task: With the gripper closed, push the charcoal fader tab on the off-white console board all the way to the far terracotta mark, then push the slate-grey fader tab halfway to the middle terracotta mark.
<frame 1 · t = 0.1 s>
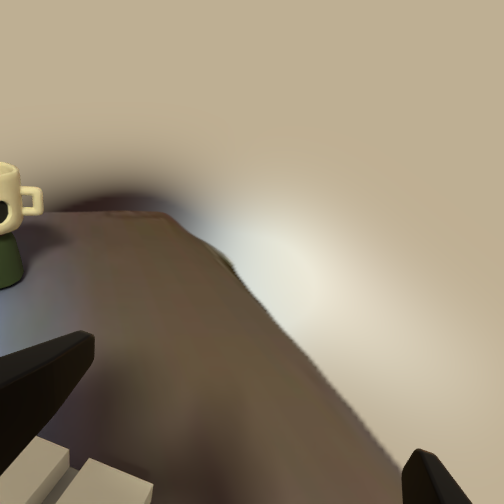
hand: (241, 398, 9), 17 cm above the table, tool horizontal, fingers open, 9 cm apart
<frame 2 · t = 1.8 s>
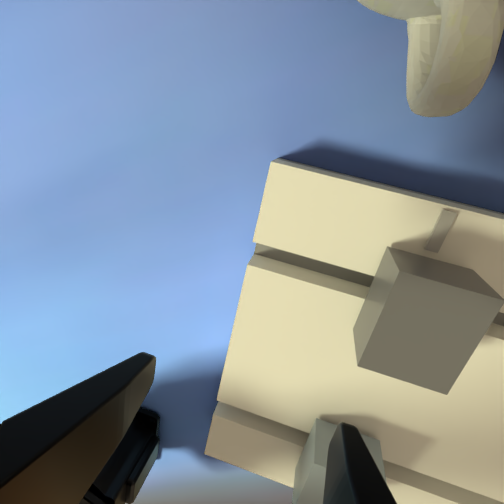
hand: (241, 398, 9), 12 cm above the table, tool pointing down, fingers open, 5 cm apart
console: (400, 368, 21), on the table
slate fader: (335, 464, 20), point 3 cm above the table, slide at 0.0 cm
charcoal fader: (411, 308, 16), point 3 cm above the table, slide at 0.0 cm
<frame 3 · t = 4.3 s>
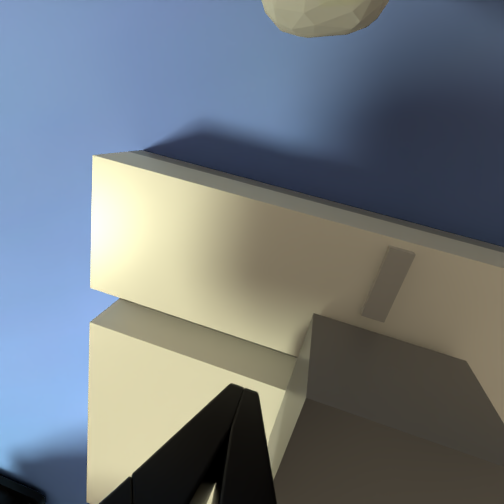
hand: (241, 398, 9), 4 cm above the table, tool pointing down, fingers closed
console: (348, 465, 14), on the table
charcoal fader: (356, 422, 9), point 3 cm above the table, slide at 0.5 cm, touching gripper
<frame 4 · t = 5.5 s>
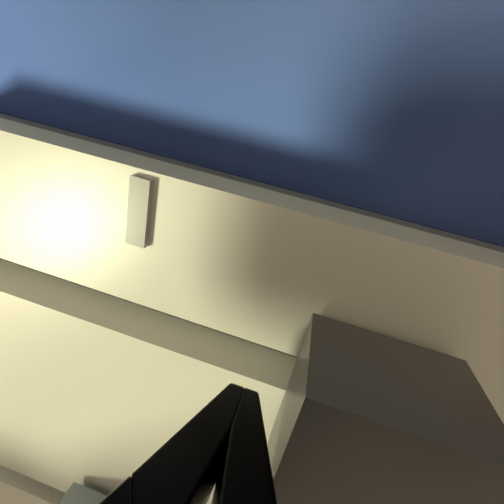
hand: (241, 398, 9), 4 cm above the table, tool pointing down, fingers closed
console: (202, 411, 15), on the table
charcoal fader: (356, 421, 9), point 3 cm above the table, slide at 7.4 cm, touching gripper
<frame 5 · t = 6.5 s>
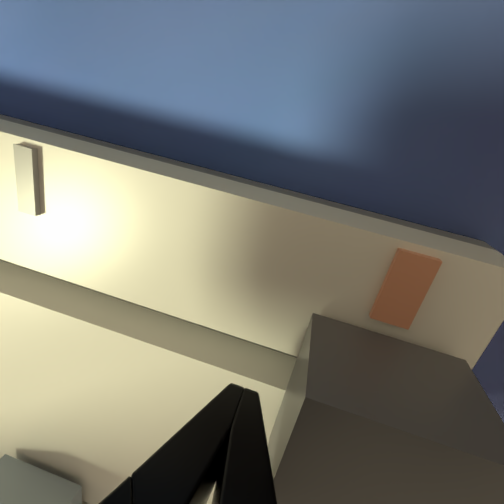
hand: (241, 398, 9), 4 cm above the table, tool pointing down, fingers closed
console: (132, 386, 15), on the table
charcoal fader: (356, 421, 9), point 3 cm above the table, slide at 11.0 cm, touching gripper
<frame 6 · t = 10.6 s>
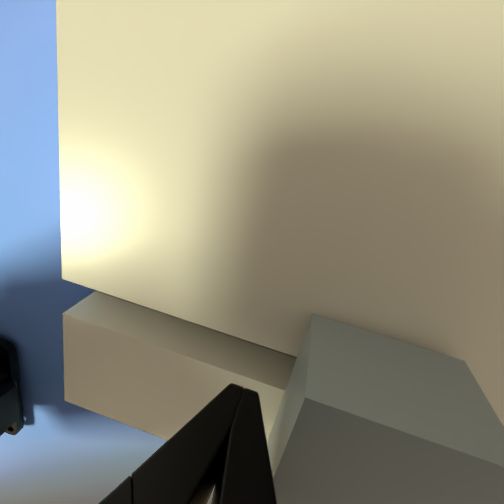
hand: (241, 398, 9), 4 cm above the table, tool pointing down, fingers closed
console: (447, 198, 9), on the table
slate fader: (355, 421, 9), point 3 cm above the table, slide at 1.6 cm, touching gripper
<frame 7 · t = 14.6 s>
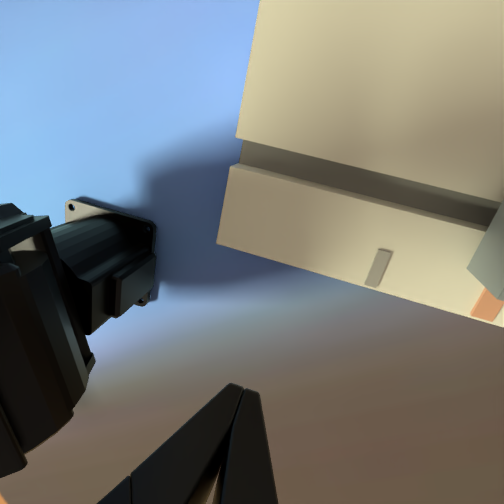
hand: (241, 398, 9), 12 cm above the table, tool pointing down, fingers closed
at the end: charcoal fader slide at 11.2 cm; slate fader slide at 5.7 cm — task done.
